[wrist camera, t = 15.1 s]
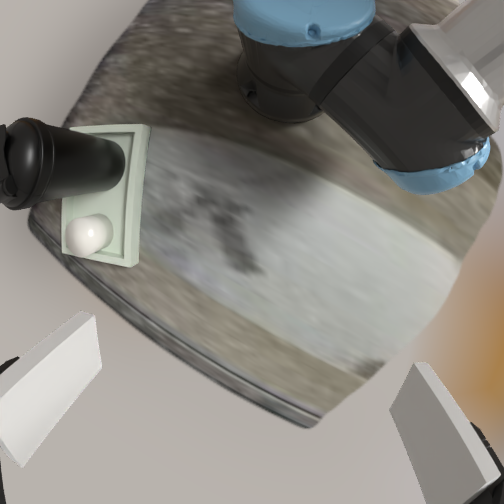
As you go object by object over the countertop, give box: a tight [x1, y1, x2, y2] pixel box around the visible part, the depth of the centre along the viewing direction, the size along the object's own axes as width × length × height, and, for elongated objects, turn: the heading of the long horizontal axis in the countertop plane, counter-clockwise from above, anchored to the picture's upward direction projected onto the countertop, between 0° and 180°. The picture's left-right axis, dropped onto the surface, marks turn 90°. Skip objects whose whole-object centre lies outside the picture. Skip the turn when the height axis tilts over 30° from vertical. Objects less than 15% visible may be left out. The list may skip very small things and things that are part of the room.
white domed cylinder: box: [65, 213, 114, 257], centre depth 39 cm, size 6×6×6 cm
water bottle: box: [0, 117, 126, 210], centre depth 28 cm, size 10×10×23 cm
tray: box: [62, 124, 151, 268], centre depth 40 cm, size 22×15×3 cm
